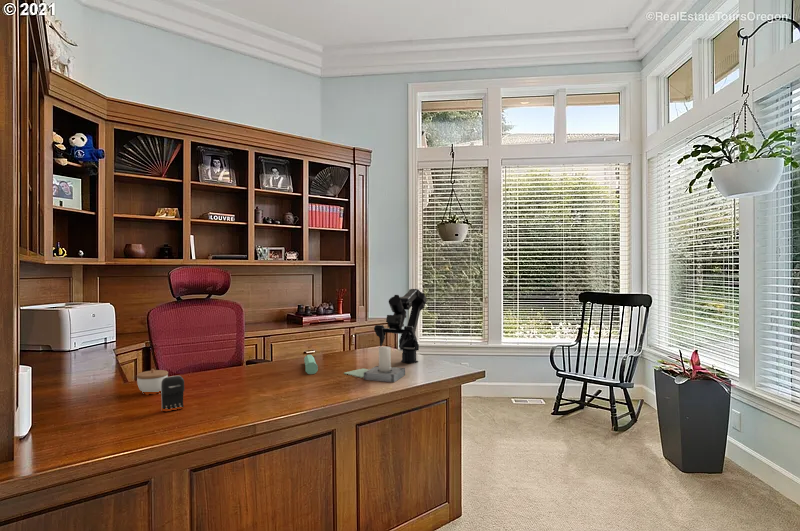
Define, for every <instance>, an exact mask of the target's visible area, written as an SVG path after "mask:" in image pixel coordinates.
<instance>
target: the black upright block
mask: <svg viewBox="0 0 800 531" xmlns="http://www.w3.org/2000/svg"><path fill="white" fill-rule="evenodd" d="M184 392H185V380H184V378H183V376H181V375H172V376H168V377H165V378H163V379H162V382H161V393H160V395H161V397H160V398H161V409H162V408H163V409H165V408H166V409H170V408H171V409H172V408H177V407H183V408H184Z"/></svg>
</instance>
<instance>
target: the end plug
mask: <svg viewBox="0 0 800 531" xmlns="http://www.w3.org/2000/svg"><path fill="white" fill-rule="evenodd" d="M391 351H392V350H391V346H379V347H378V366H379V372H390V371H391V367H392V362H391V361H392V358H391V354H392V353H391Z"/></svg>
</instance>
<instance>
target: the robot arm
mask: <svg viewBox="0 0 800 531" xmlns="http://www.w3.org/2000/svg"><path fill="white" fill-rule="evenodd" d="M426 304H427V297H426V294H425V293H423V292H422V291H420V289H418V288H410V289H408V291H407V293H405V295H403V296H400V295H399V294H394V295H393V296H391V297H390V298H389V299H388V305H389V307H390V311H391V312H392V313H393V314H387V315H386V321H385V322H386V323H387V326H388V327H385V325H383V324H376V325H375V326H374V328H373V331H374V333H375V335H376V337H378V338H379V347H383V344H384V341H385V338H386V337H385V336H386V333H387V334H394V335H395V334H396V335H399V334H400V338H399V341H398V344H399V345H398V348H399V351H402V354H401V360H400V362H402V363H406V364H415V363H419V361H418V360H417V351H419V349H420V344H419V341H418V338H417V336H416V329H417V327H418V326H417V325H418V322H419V317H420V313H421V311H422V310H424V309H425V306H426ZM410 309H411V310H410ZM407 310H410V314H409V318H408V321H407V325H405V324H404V322H405V319H407ZM403 327H404V328H403ZM414 362H415V363H414Z"/></svg>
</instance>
